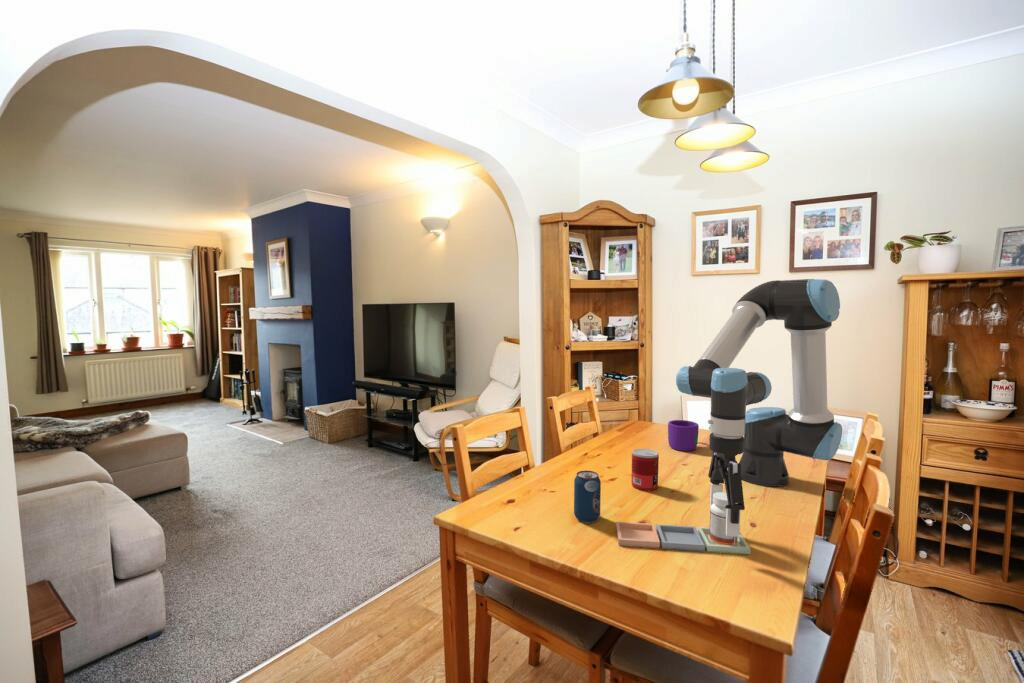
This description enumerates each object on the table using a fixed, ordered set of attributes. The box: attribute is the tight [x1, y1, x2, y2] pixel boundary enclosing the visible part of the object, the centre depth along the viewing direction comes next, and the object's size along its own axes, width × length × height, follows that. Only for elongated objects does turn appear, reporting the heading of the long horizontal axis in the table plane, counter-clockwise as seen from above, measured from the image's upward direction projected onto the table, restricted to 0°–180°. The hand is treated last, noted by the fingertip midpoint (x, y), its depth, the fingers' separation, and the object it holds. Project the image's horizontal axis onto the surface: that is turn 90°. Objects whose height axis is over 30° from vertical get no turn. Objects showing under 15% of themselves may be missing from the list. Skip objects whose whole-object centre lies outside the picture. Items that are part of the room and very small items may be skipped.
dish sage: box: [697, 526, 752, 555], centre depth 115 cm, size 9×9×2 cm
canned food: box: [631, 448, 660, 492], centre depth 150 cm, size 8×8×11 cm
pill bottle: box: [709, 491, 738, 546], centre depth 115 cm, size 6×6×11 cm
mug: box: [667, 419, 700, 452], centre depth 193 cm, size 17×11×10 cm, turn 150°
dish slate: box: [655, 523, 706, 552], centre depth 117 cm, size 9×9×2 cm
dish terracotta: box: [615, 521, 661, 549], centre depth 118 cm, size 9×9×2 cm
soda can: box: [573, 470, 602, 524], centre depth 128 cm, size 7×7×12 cm
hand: (723, 522), depth 115 cm, fingers open, 13 cm apart
